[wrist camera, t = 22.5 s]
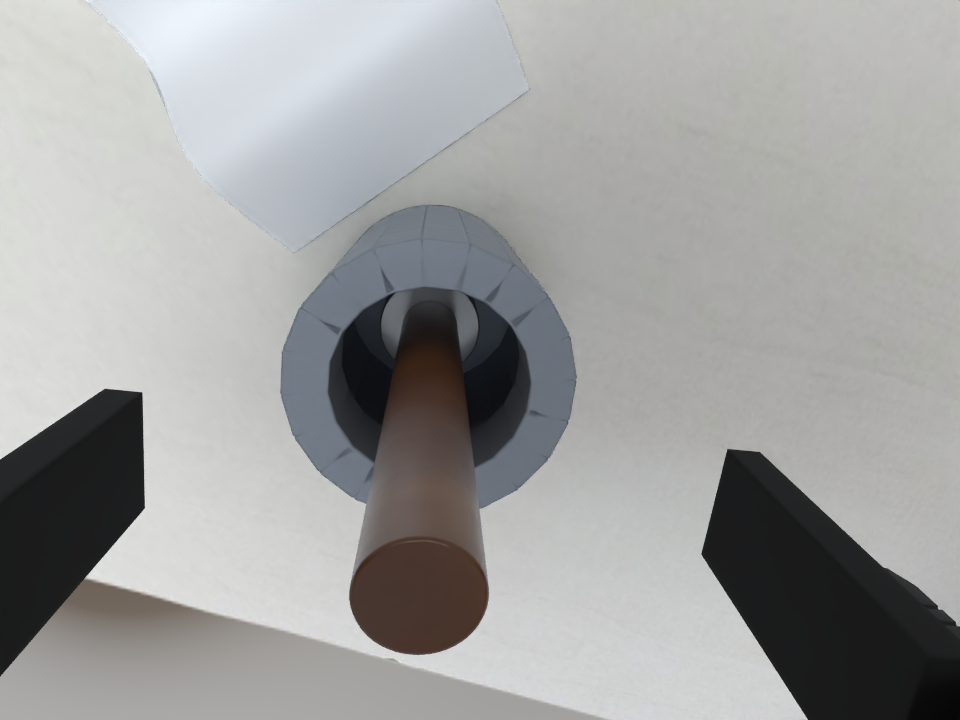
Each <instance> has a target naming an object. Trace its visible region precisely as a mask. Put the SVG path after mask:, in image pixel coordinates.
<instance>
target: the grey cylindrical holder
mask: <svg viewBox="0 0 960 720" xmlns="http://www.w3.org/2000/svg"><path fill="white" fill-rule="evenodd" d="M423 287H427V288H436V289H445V290H454V291H459V292H462V293H464V294H466V295H468V296H470V297H473V298H474V300H475V304H476V308H477V312H478V316H479V322H480V332H479V337H478V341H477V344H476V346H475V348H474V350H473V352H472V353H471V355H470V356H469V357H468V358H467V359H466V361H464V362H463V363H462V368H463V377H464V385H465V394H466V402H467V410H468V419H469V427H470V436H471V444H472V452H473V461H474V469H475V477H476V486H477V494H478V503H479V509H480V508H483V507H485V506H487V505H489V504H491V503H493V502H495V501H497V500H499V499H501V498H503V497H504V496H506V495H508V494H510V493H512V492H514V491H516V490H517V489H518V488H519V487H521V486H522V485H523V484H524V483H525V482H526V481H527V480H528V479H529V478H530V477H531V476H532V475H533V474H534V473H535V472H536V471H537V470H538V469H539V468H540V467H541V466H542V465H543V464H544V463H545V462H546V461H547V460H548V458H549V457H550V456H551V454H552V453H553V451H554V449H555V447H556V445H557V443H558V441H559V440H560V438H561V436H562V434H563V432H564V430H565V428H566V426H567V425H568V420H569V419H570V415H571V409H572V403H573V397H574V392H575V386H576V378H577V376H576V370H575V363H574V357H573V351H572V344H571V338H570V336H569V333H568V331H567V329H566V327H565V325H564V323H563V321H562V319H561V318H560V316H559V314H558V312H557V310H556V308H555V306H554V304H553V302H552V301H551V299H550V297H549V296H548V294H547V293H546V292H545V291H544V289H543V288H542V287H541V285H540V284H539V283H538V282H537V280H536V279H535V278H534V276H533V275H532V274H531V273H530V271H529V270H528V269H527V267H526V266H525V265H524V264H523V262H522V261H521V260H520V258H519V257H518V256H517V255H516V253H515V252H514V251H513V249H512V248H511V247H510V246H509V244H508V243H507V242H506V241H505V240H504V239H503V238H502V237H501V236H500V235H499V234H498V233H497V232H496V231H495V230H494V229H493V228H492V227H490V226H489V225H488V224H487V223H485V222H484V221H482V220H481V219H479V218H478V217H476V216H474V215H472V214H470V213H468V212H465V211H462V210H459V209H456V208H452V207H447V206H440V205H423V206H415V207H411V208H406V209H403V210H400V211H398V212H395V213H393V214H391V215H389V216H387V217H385V218H383V219H382V220H380V221H379V222H377V223H376V224H374V225H373V226H371V227H370V228H369V229H368V230H367V231H366V232H365V233H364V235H363V236H362V237H361V238H360V239H359V240H358V241H357V242H356V244H355V245H354V246H353V247H352V248H351V249H350V250H349V251H348V253H347V254H346V255H345V256H344V257H343V258H342V259H341V260H340V262H339V263H338V264H337V265H336V266H335V267H334V268H333V269H332V271H331V272H330V273H329V274H328V275H327V276H326V277H325V279H324V280H323V281H322V282H321V283H320V284H319V285H318V287H317V288H316V289H315V290H314V291H313V292H312V293H311V295H310V296H309V297H308V298H307V299H306V300H305V301H304V302H303V304H302V305H301V307H300V308H299V309H298V312H297V314H296V317H295V319H294V322H293V324H292V327H291V329H290V332H289V334H288V337H287V339H286V342H285V344H284V347H283V351H282V368H281V394H282V395H281V398H282V401H283V404H284V408H285V411H286V414H287V417H288V421H289V424H290V427H291V431H292V434H293V436H295V439H296V441H297V442H298V443H299V445H300V446H301V448H302V449H303V450H304V452H305V453H306V455H307V456H308V458H309V459H310V460H311V462H312V463H313V465H314V466H315V467H316V469H317V470H318V471H320V473H321V474H322V475H323V476H324V477H326V478H327V479H328V480H330V481H331V482H332V483H334V484H335V485H336V486H338V487H339V488H340V489H342V490H343V491H344V492H346V493H347V494H348V495H350V496H351V497H354V498H355V499H356V500H358V501H361V502H363V503H366V504H367V499H368V494H369V489H370V484H371V479H372V474H373V469H374V464H375V459H376V454H377V449H378V444H379V439H380V434H381V429H382V424H383V419H384V414H385V409H386V404H387V399H388V394H389V389H390V384H391V379H392V374H393V369H394V364H395V361H394V360H393V359H392V358H391V356H390V355H389V354H388V352H387V350H386V349H385V347H384V345H383V342H382V339H381V335H380V318H381V314H382V310H383V307H384V304H385V301H386V298H387V296H389V295H391V294H393V293H398V292H403V291H408V290H413V289H418V288H423Z"/></svg>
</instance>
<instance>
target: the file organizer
mask: <svg viewBox="0 0 960 720" xmlns="http://www.w3.org/2000/svg"><path fill="white" fill-rule="evenodd" d="M86 1H87V2H88V3H89V4H90V5H91V6H93V7H94V8H95V9H96V10H97V11H98V12H99V13H100V14H101V15H102V16H103V17H104V18H105V19H106V20H107V21H108V22H109V23H110V24H111V25H112V26H113V27H114V28H115V29H116V30H117V31H118V32H119V33H120V34H121V35H122V36H123V37H124V38H125V39H126V40H127V41H128V42H129V43H130V44H131V46H132V47H133V48H134V49H135V50H136V52H137V53H138V54H139V55H140V56H141V57H142V59H143V60H144V62H145V63H146V64H147V66H148V68H149V71H150V73H151V75H152V78H153V80H154V82H155V85H156V87H157V89H158V92H159V94H160V96H161V99H162V101H163V103H164V106H165V108H166V111H167V113H168V115H169V118H170V120H171V123H172V126H173V129H174V131H175V134H176V137H177V140H178V142H179V144H180V146H181V148H182V150H183V152H184V154H185V156H186V157H187V159H188V160H189V162H190V163H191V165H192V166H193V168H194V169H195V170H196V171H197V172H198V174H199V175H200V176H201V177H202V178H203V179H204V181H205V182H206V183H207V184H208V185H209V186H210V187H211V188H212V189H213V190H214V191H215V192H217V193H218V194H219V195H220V196H221V197H222V198H223V199H224V200H226V201H227V202H228V203H229V204H230V205H232V206H233V207H234V208H235V209H237V210H238V211H239V212H240V213H242V214H243V215H244V216H245V217H247V218H248V219H249V220H250V221H252V222H253V223H254V224H256V225H257V226H258V227H259V228H261V229H262V230H263V231H265V232H266V233H267V234H269V235H270V236H271V237H273V238H274V239H275V240H277V241H278V242H279V243H280V244H282V245H283V246H284V247H286V248H287V249H288V250H290V251H291V252H292V253H295V252H296V251H297V250H299V249H300V248H302V247H303V246H305V245H306V244H308V243H309V242H310V241H312V240H313V239H315V238H316V237H318V236H319V235H321V234H322V233H323V232H325V231H326V230H328V229H329V228H331V227H332V226H334V225H335V224H336V223H338V222H339V221H341V220H342V219H344V218H345V217H346V216H348V215H349V214H351V213H352V212H354V211H355V210H357V209H358V208H359V207H361V206H362V205H364V204H365V203H367V202H368V201H370V200H371V199H372V198H374V197H375V196H377V195H378V194H380V193H381V192H383V191H384V190H385V189H387V188H388V187H390V186H391V185H393V184H394V183H396V182H397V181H398V180H400V179H401V178H403V177H404V176H406V175H407V174H409V173H410V172H411V171H413V170H414V169H416V168H417V167H419V166H420V165H422V164H423V163H424V162H426V161H427V160H429V159H430V158H432V157H433V156H435V155H436V154H437V153H439V152H440V151H442V150H443V149H445V148H446V147H448V146H449V145H450V144H452V143H453V142H455V141H456V140H458V139H459V138H461V137H462V136H463V135H465V134H466V133H468V132H469V131H471V130H472V129H474V128H475V127H476V126H478V125H479V124H481V123H482V122H484V121H485V120H487V119H488V118H489V117H491V116H492V115H494V114H495V113H497V112H498V111H500V110H501V109H502V108H504V107H505V106H507V105H508V104H510V103H511V102H513V101H514V100H515V99H517V98H518V97H520V96H521V95H523V94H524V93H526V92H527V91H528V90H530V88H529V85H528V82H527V80H526V77H525V74H524V71H523V69H522V66H521V63H520V60H519V58H518V55H517V52H516V49H515V47H514V44H513V41H512V38H511V36H510V33H509V30H508V28H507V25H506V23H505V20H504V18H503V15H502V12H501V10H500V7H499V5H498V2H497V0H86Z"/></svg>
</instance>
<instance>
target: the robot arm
mask: <svg viewBox="0 0 960 720" xmlns="http://www.w3.org/2000/svg"><path fill="white" fill-rule="evenodd" d="M144 509H145V498H144V449H143V400H142V392H132V391H122V390H111V389H104V390H102V391H101V392H99V393H98V394H97V395H95V396H94V397H92V398H91V399H89V400H88V401H86V402H85V403H83V404H82V405H80V406H79V407H77V408H76V409H74V410H73V411H71V412H70V413H68V414H67V415H66V416H64V417H63V418H61V419H60V420H58V421H57V422H55V423H54V424H52V425H51V426H49V427H48V428H46V429H45V430H43V431H42V432H40V433H39V434H37V435H36V436H35V437H33V438H32V439H30V440H29V441H27V442H26V443H24V444H23V445H21V446H20V447H18V448H17V449H15V450H14V451H12V452H11V453H9V454H8V455H6V456H5V457H4V458H2V459H1V460H0V676H1V675H2V674H3V672H4V671H5V670H6V669H7V668H8V667H9V665H10V664H11V663H12V662H13V661H14V660H15V658H17V656H18V655H19V654H20V653H21V652H22V651H23V649H24V648H25V647H26V646H27V645H28V643H29V642H30V641H31V640H32V639H33V638H34V636H35V635H36V634H37V633H38V632H39V631H40V630H41V628H42V627H43V626H44V625H45V624H46V623H47V621H48V620H49V619H50V618H51V617H52V616H53V614H54V613H55V612H56V611H57V610H58V609H59V607H60V606H61V605H62V604H63V603H64V602H65V600H66V599H67V598H68V597H69V596H70V595H71V593H72V592H73V591H74V590H75V589H76V588H77V586H78V585H79V584H80V583H81V582H82V581H83V580H84V578H85V577H86V576H87V575H88V574H89V573H90V571H91V570H92V569H93V568H94V567H95V566H96V564H97V563H98V562H99V561H100V560H101V559H102V557H103V556H104V555H105V554H106V553H107V552H108V550H109V549H110V548H111V547H112V546H113V545H114V543H115V542H116V541H117V540H118V539H119V538H120V536H121V535H122V534H123V533H124V532H125V531H126V529H127V528H128V527H129V526H130V525H131V524H132V522H133V521H134V520H135V519H136V518H137V517H138V516H139V514H140V513H141V512H142V511H143V510H144ZM701 555H702V556H703V558H704V559H705V561H706V562H707V564H708V565H709V567H710V568H711V570H712V572H713V573H714V575H715V576H716V578H717V579H718V581H719V582H720V584H721V585H722V587H723V589H724V590H725V592H726V593H727V595H728V596H729V598H730V599H731V601H732V603H733V604H734V606H735V607H736V609H737V610H738V612H739V613H740V615H741V616H742V618H743V620H744V621H745V623H746V624H747V626H748V627H749V629H750V630H751V632H752V633H753V635H754V637H755V638H756V640H757V641H758V643H759V644H760V646H761V647H762V649H763V651H764V652H765V654H766V655H767V657H768V658H769V660H770V661H771V663H772V664H773V666H774V668H775V669H776V671H777V672H778V674H779V675H780V677H781V678H782V680H783V681H784V683H785V685H786V686H787V688H788V689H789V691H790V692H791V694H792V695H793V697H794V699H795V700H796V702H797V703H798V705H799V706H800V708H801V709H802V711H803V712H804V714H805V716H806V717H807V719H808V720H960V627H959V626H956V622H955V621H954V620H953V619H952V618H951V617H949V616H948V615H947V614H946V613H945V612H944V611H943V610H938V606H937V605H936V604H935V603H934V602H933V601H932V600H931V599H930V598H929V597H927V596H926V595H925V594H924V593H923V592H922V591H921V590H920V589H919V588H918V587H916V586H915V585H913V584H912V583H910V582H908V581H907V580H905V579H904V578H902V577H900V576H899V575H897V574H895V573H894V572H892V571H891V570H889V569H887V568H883V567H882V566H881V565H880V564H879V563H878V562H877V561H876V560H874V559H873V558H872V557H871V556H870V555H869V554H868V553H867V552H866V551H865V550H864V549H863V548H862V547H861V546H860V545H858V544H857V543H856V542H855V541H854V540H853V539H852V538H851V537H850V536H849V535H848V534H847V533H846V532H845V531H844V530H842V529H841V528H840V527H839V526H838V525H837V524H836V523H835V522H834V521H833V520H832V519H831V518H830V517H829V516H827V515H826V514H825V513H824V512H823V511H822V510H821V509H820V508H819V507H818V506H817V505H816V504H815V503H814V502H813V501H811V500H810V499H809V498H808V497H807V496H806V495H805V494H804V493H803V492H802V491H801V490H800V489H799V488H798V487H796V486H795V485H794V484H793V483H792V482H791V481H790V480H789V479H788V478H787V477H786V476H785V475H784V474H783V473H782V472H780V471H779V470H778V469H777V468H776V467H775V466H774V465H773V464H772V463H771V462H770V461H769V460H768V459H767V458H765V457H764V456H763V455H762V454H761V453H760V452H753V451H743V450H732V449H727V453H726V457H725V461H724V466H723V470H722V474H721V478H720V482H719V486H718V490H717V494H716V498H715V502H714V506H713V510H712V514H711V518H710V522H709V526H708V530H707V534H706V538H705V542H704V546H703V550H702V554H701Z"/></svg>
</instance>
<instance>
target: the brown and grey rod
mask: <svg viewBox="0 0 960 720" xmlns="http://www.w3.org/2000/svg"><path fill="white" fill-rule="evenodd" d="M479 332H480V322H479V316H478V312H477V308H476V304H475V300H474V298H473V297H470V296H468V295H466V294H464V293H462V292H459V291H454V290H445V289H436V288H427V287H423V288H418V289H413V290H408V291H403V292H398V293H393V294H391V295H389V296H387V298H386V301H385V304H384V307H383V310H382V314H381V318H380V335H381V339H382V342H383V345H384V347H385V349H386V350H387V352H388V354H389V355H390V356H391V358H392V359H393V360H394V361H395V364H394V369H393V374H392V379H391V384H390V389H389V394H388V399H387V404H386V409H385V414H384V419H383V424H382V429H381V434H380V439H379V444H378V449H377V454H376V459H375V464H374V469H373V474H372V479H371V484H370V489H369V494H368V499H367V504H366V509H365V514H364V519H363V524H362V529H361V535H360V540H359V545H358V550H357V555H356V560H355V565H354V570H353V575H352V580H351V585H350V591H349V599H350V606H351V609H352V613H353V615H354V617H355V619H356V621H357V623H358V625H359V626H360V628H361V629H362V630H363V631H364V633H365V634H366V635H367V636H368V637H369V638H371V639H372V640H373V641H374V642H376V643H378V644H379V645H381V646H383V647H385V648H387V649H389V650H392V651H395V652H399V653H404V654H412V655H424V654H432V653H437V652H440V651H443V650H446V649H449V648H451V647H453V646H455V645H457V644H458V643H460V642H462V641H463V640H464V639H466V638H467V637H468V636H469V635H470V634H471V633H472V632H473V631H474V630H475V629H476V627H477V626H478V625H479V623H480V621H481V620H482V618H483V616H484V614H485V611H486V609H487V605H488V599H489V587H488V578H487V570H486V561H485V553H484V545H483V536H482V528H481V519H480V511H479V503H478V494H477V486H476V477H475V469H474V461H473V452H472V444H471V436H470V427H469V419H468V410H467V402H466V394H465V385H464V377H463V368H462V363H463V362H464V361H466V359H467V358H468V357H469V356H470V355H471V353H472V352H473V350H474V348H475V346H476V344H477V341H478V337H479Z"/></svg>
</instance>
